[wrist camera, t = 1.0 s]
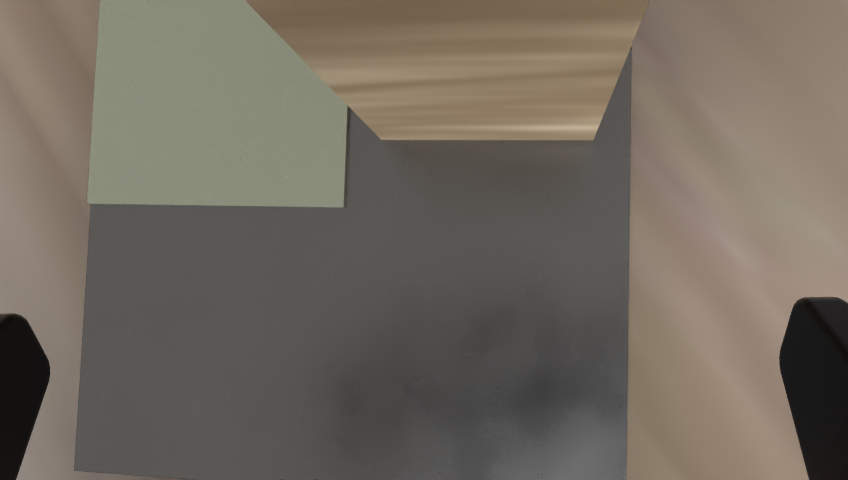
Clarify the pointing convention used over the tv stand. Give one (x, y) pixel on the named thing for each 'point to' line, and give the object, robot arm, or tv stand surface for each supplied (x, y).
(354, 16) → the sleeve
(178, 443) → the peg plate
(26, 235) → the tv stand surface
